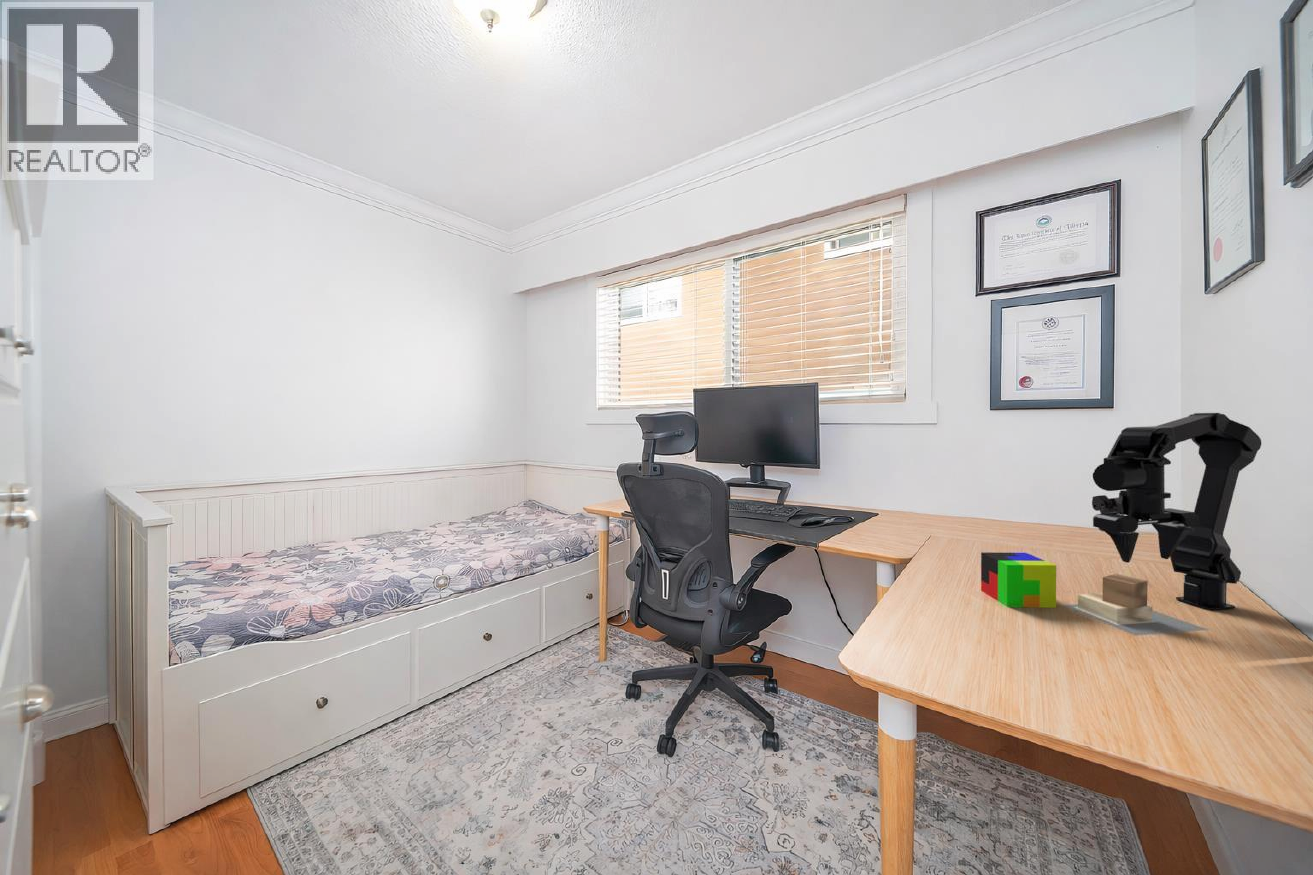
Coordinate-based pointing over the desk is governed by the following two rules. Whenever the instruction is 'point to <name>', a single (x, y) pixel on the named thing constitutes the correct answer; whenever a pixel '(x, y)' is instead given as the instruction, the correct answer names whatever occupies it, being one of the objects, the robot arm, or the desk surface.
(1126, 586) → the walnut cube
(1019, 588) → the puzzle toy
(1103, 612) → the maple slab
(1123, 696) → the desk surface
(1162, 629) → the build mat
